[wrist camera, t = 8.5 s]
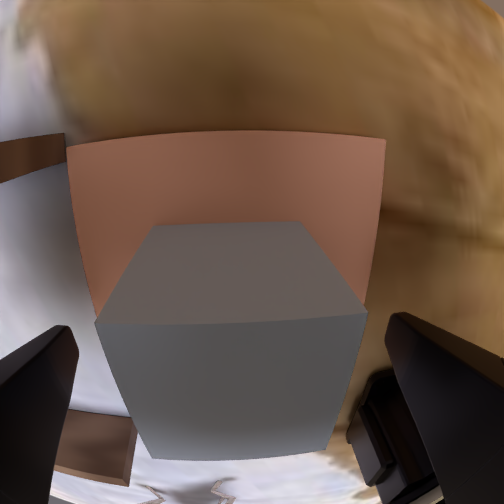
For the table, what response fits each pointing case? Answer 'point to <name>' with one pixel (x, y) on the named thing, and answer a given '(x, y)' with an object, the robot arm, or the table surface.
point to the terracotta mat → (225, 193)
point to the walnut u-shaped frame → (76, 422)
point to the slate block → (232, 341)
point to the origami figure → (231, 499)
